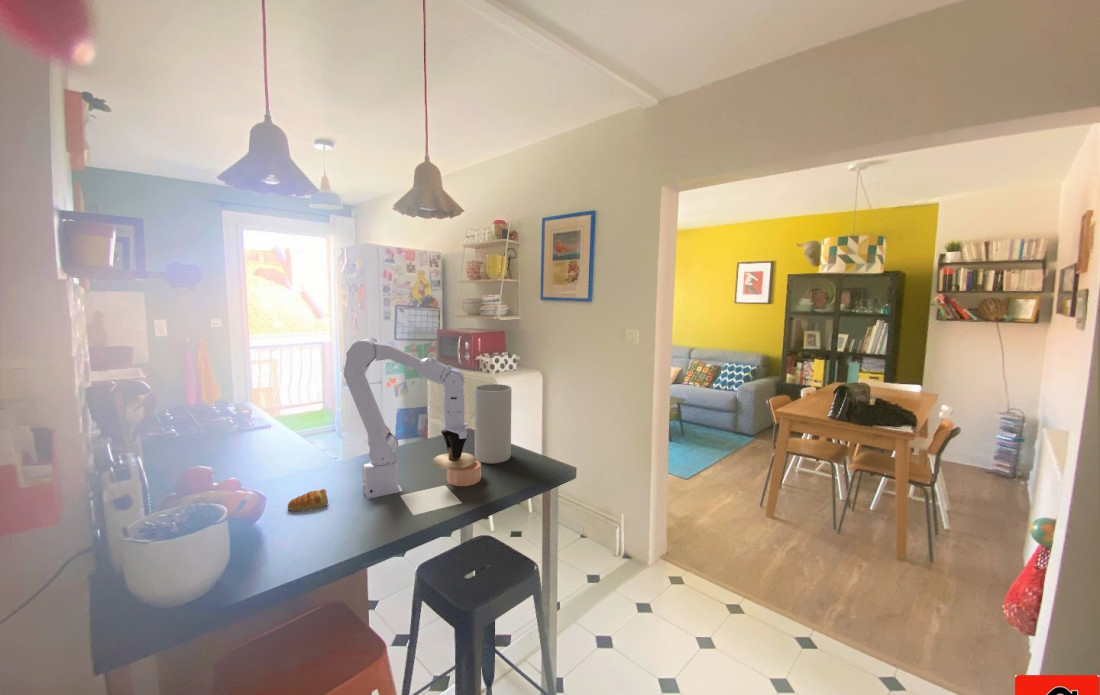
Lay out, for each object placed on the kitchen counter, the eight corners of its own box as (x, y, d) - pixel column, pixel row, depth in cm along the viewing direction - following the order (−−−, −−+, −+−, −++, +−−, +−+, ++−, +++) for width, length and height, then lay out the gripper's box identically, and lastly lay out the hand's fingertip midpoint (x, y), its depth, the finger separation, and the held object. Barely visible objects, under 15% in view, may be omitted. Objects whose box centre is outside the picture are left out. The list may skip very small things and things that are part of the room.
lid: (442, 472, 120) (442, 456, 119) (427, 459, 129) (426, 445, 129) (481, 463, 127) (482, 449, 126) (464, 452, 136) (464, 439, 136)
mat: (413, 517, 111) (413, 515, 110) (400, 497, 121) (400, 495, 121) (461, 505, 118) (462, 502, 118) (445, 487, 128) (445, 485, 128)
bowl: (454, 490, 126) (454, 474, 126) (442, 478, 135) (442, 462, 134) (486, 483, 132) (486, 467, 131) (472, 471, 140) (472, 456, 140)
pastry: (288, 516, 110) (287, 502, 110) (287, 505, 116) (286, 492, 115) (329, 507, 115) (329, 493, 115) (326, 497, 121) (325, 484, 121)
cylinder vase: (517, 459, 152) (518, 388, 149) (486, 467, 144) (486, 393, 141) (498, 449, 162) (499, 382, 159) (468, 456, 154) (468, 386, 151)
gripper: (477, 414, 122) (477, 461, 124) (458, 403, 135) (458, 446, 136) (452, 417, 119) (453, 465, 120) (435, 406, 131) (436, 450, 132)
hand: (454, 455), depth 128 cm, fingers closed on lid, 3 cm apart
